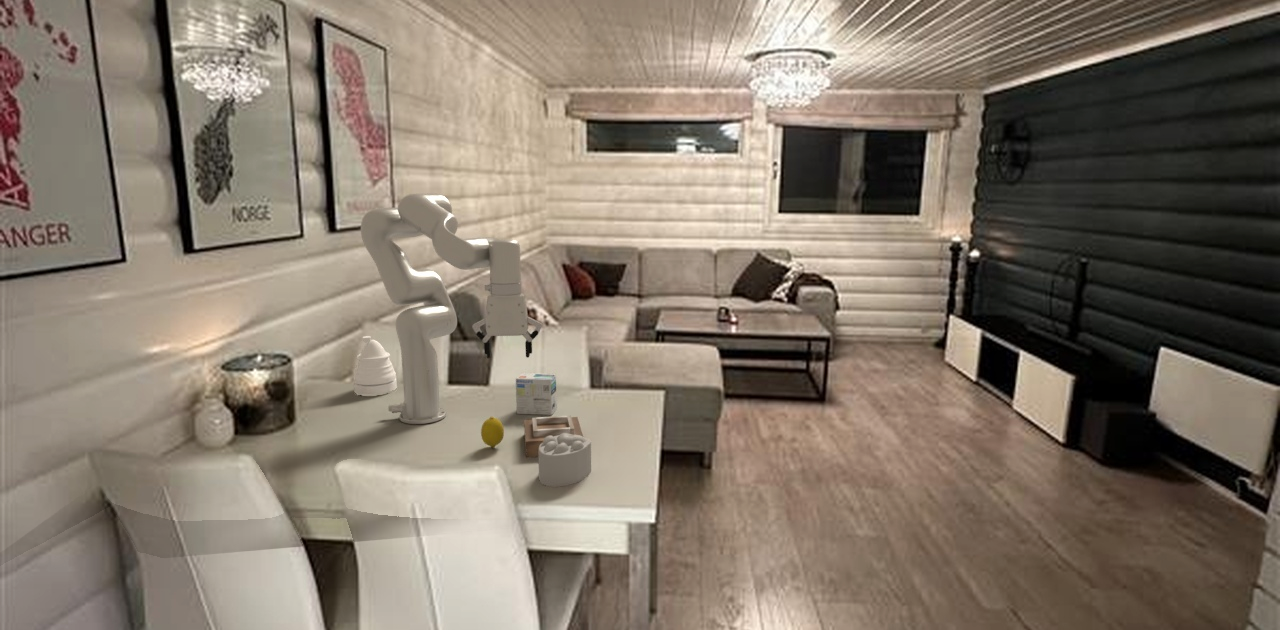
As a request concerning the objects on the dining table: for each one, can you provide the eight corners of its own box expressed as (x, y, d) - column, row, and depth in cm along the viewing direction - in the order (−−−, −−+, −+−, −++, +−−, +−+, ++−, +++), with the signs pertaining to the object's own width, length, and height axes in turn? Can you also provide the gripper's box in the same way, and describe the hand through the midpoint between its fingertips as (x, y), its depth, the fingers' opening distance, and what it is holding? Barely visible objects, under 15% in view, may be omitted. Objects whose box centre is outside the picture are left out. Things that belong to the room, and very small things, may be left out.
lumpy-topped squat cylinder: (596, 468, 161) (596, 433, 159) (567, 490, 149) (567, 452, 147) (558, 461, 165) (557, 426, 163) (527, 482, 153) (526, 444, 152)
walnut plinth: (526, 457, 167) (525, 435, 166) (524, 434, 182) (524, 414, 181) (583, 453, 170) (583, 432, 169) (577, 431, 185) (577, 411, 184)
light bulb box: (557, 408, 204) (556, 373, 202) (552, 415, 198) (551, 379, 196) (522, 407, 205) (521, 372, 203) (515, 414, 199) (514, 378, 197)
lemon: (508, 445, 175) (507, 414, 174) (497, 452, 170) (495, 421, 168) (489, 442, 177) (488, 412, 175) (477, 450, 172) (476, 419, 170)
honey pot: (371, 399, 213) (367, 342, 209) (345, 392, 220) (341, 337, 216) (405, 389, 223) (402, 334, 220) (380, 383, 230) (376, 330, 227)
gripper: (468, 292, 167) (471, 360, 170) (540, 291, 168) (542, 359, 171) (473, 287, 175) (476, 353, 178) (542, 287, 176) (544, 352, 179)
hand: (508, 356), depth 174 cm, fingers open, 9 cm apart
